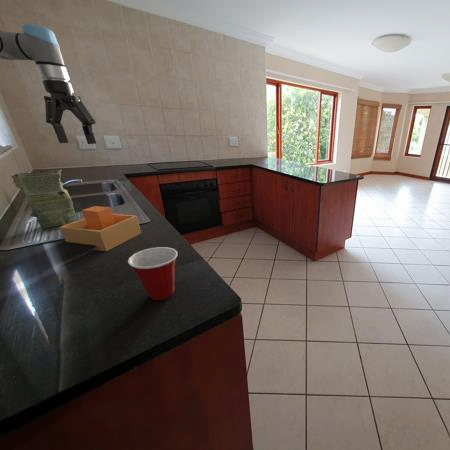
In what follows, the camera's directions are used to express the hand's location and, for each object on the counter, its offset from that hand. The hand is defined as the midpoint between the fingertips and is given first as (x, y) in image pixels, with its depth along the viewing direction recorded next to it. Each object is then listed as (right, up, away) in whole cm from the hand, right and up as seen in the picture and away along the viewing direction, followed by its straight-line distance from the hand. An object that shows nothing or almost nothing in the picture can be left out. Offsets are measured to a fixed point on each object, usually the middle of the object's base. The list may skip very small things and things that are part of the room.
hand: (78, 143), depth 93 cm
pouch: (-16, -34, +9) cm, 38 cm away
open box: (+11, -38, 0) cm, 39 cm away
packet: (+11, -37, 0) cm, 39 cm away
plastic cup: (+50, -51, -28) cm, 77 cm away
